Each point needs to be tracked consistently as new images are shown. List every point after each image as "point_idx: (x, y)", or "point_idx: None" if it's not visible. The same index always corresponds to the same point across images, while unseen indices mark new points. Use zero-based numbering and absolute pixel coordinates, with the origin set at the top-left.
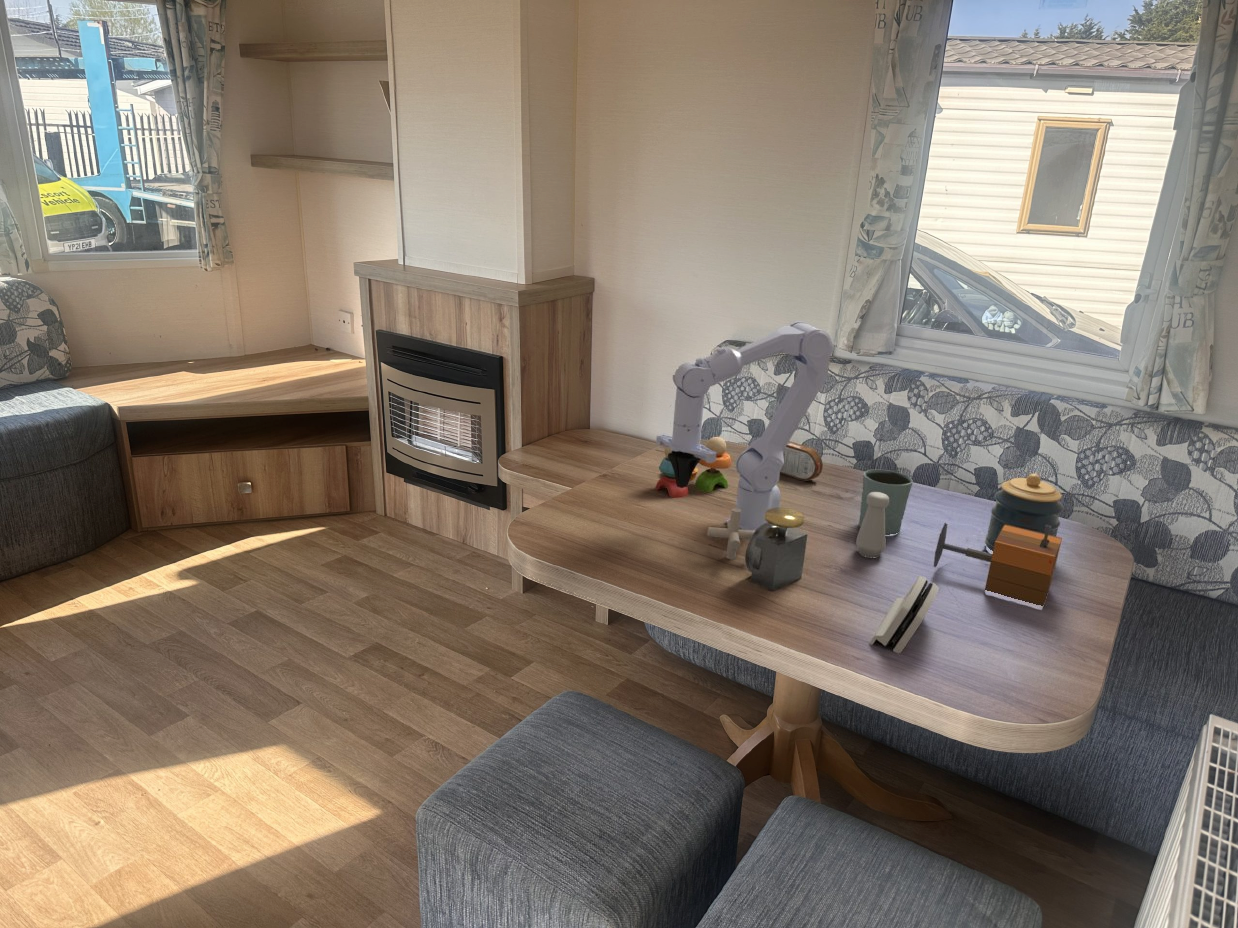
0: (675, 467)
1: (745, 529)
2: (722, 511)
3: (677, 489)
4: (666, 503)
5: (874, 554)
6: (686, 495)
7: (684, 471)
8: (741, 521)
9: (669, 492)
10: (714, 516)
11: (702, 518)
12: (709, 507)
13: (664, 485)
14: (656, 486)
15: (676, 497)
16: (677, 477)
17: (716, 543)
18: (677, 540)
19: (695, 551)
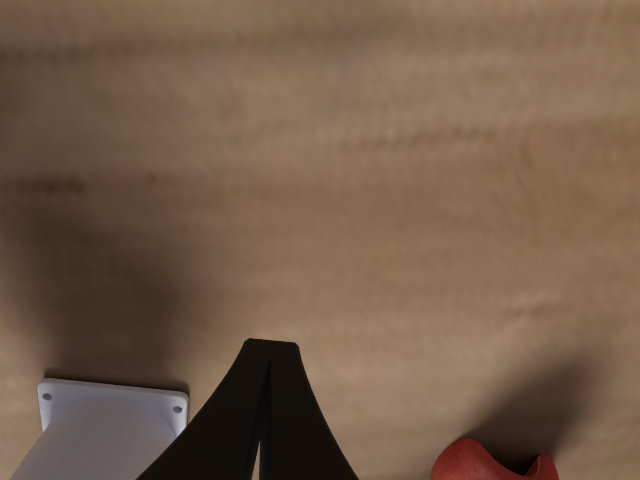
0: (300, 476)
1: (81, 385)
2: None
3: (463, 478)
4: (454, 389)
5: None
6: (431, 477)
7: (158, 464)
8: (102, 411)
9: (484, 453)
10: None
11: None
12: None
13: (521, 475)
14: (551, 465)
15: (450, 446)
16: (278, 390)
17: (71, 217)
18: (203, 119)
19: (59, 69)
